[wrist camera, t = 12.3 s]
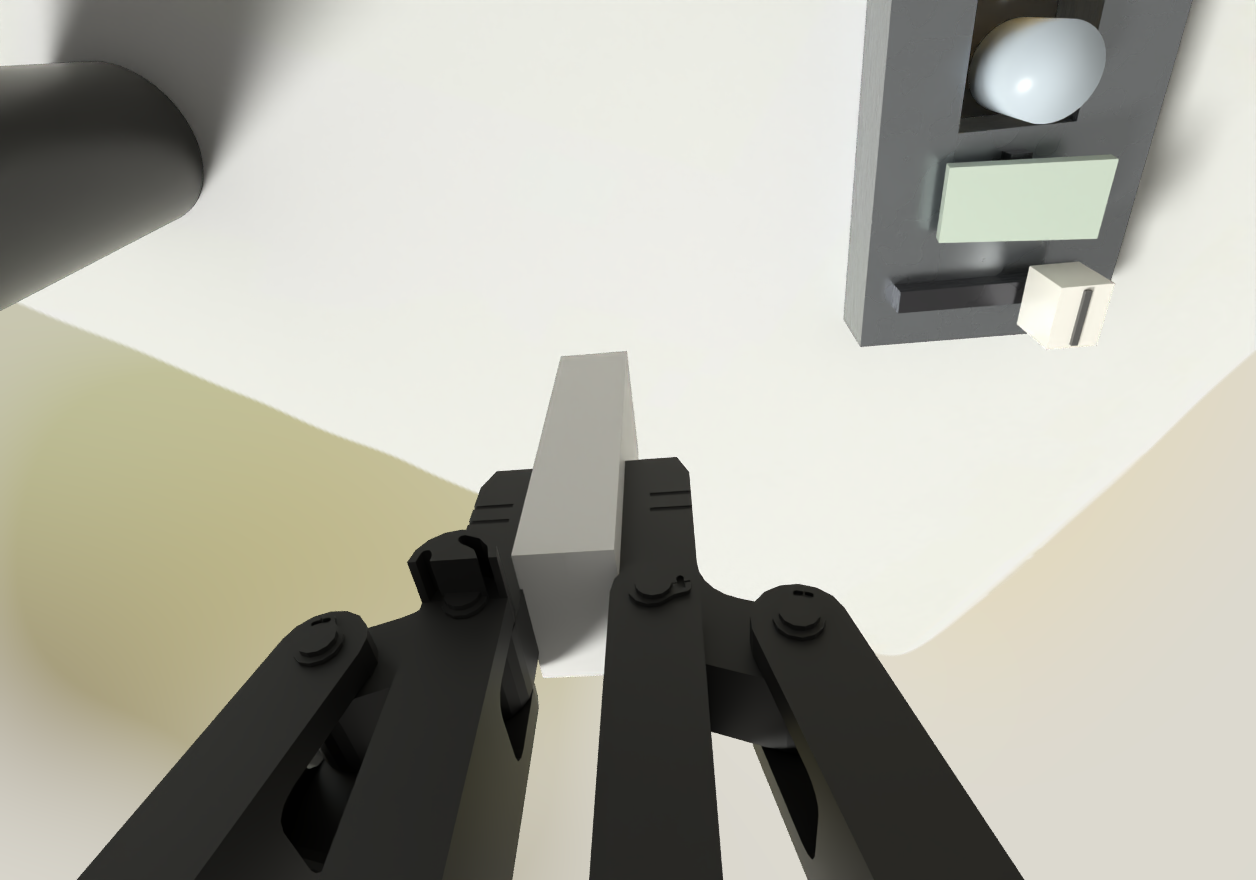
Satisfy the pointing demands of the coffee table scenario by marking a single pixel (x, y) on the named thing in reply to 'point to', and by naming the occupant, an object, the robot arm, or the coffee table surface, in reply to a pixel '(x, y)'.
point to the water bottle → (85, 168)
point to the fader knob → (1064, 305)
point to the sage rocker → (1025, 199)
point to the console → (936, 135)
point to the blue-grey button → (1037, 68)
